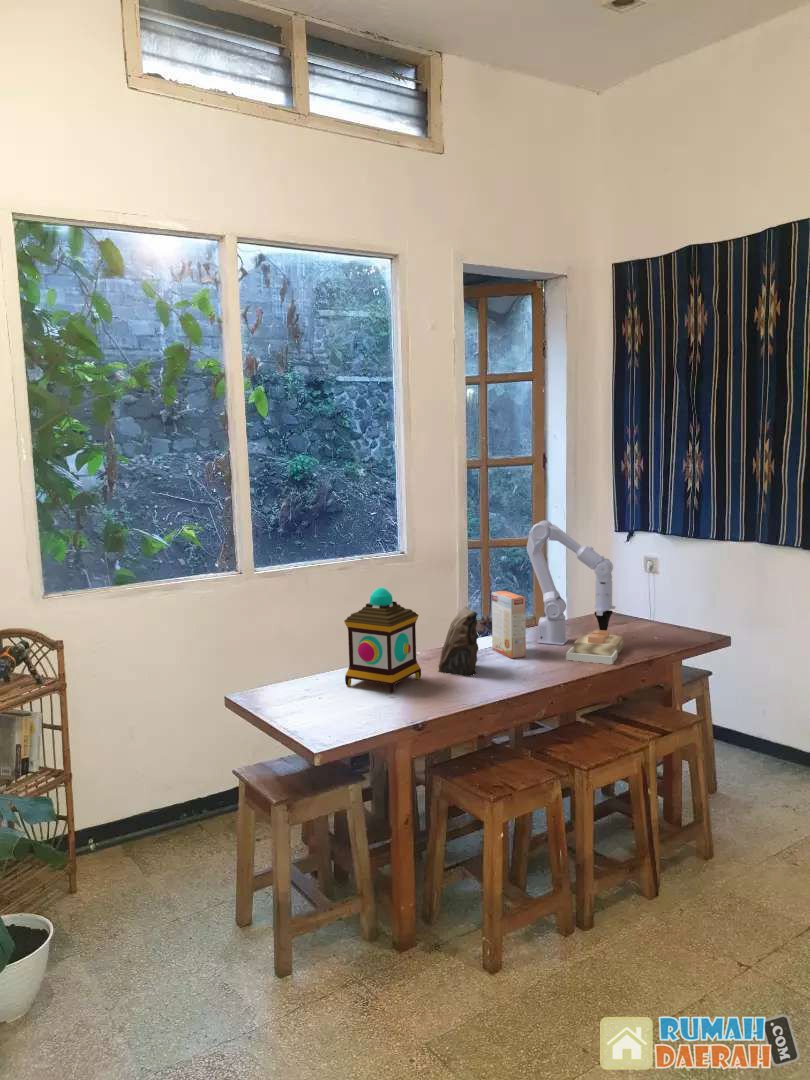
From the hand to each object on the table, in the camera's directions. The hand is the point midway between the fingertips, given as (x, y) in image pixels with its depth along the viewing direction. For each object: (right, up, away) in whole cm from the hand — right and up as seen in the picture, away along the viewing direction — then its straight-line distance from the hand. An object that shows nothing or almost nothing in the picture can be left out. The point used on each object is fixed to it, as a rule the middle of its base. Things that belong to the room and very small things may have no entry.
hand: (603, 631), depth 291 cm
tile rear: (-2, -2, -4) cm, 5 cm away
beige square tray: (-3, -6, -6) cm, 9 cm away
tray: (-8, -7, -16) cm, 19 cm away
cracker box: (-34, -7, -7) cm, 36 cm away
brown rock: (-53, -10, -25) cm, 60 cm away
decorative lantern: (-77, -12, -36) cm, 86 cm away
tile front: (-5, -2, -10) cm, 11 cm away
